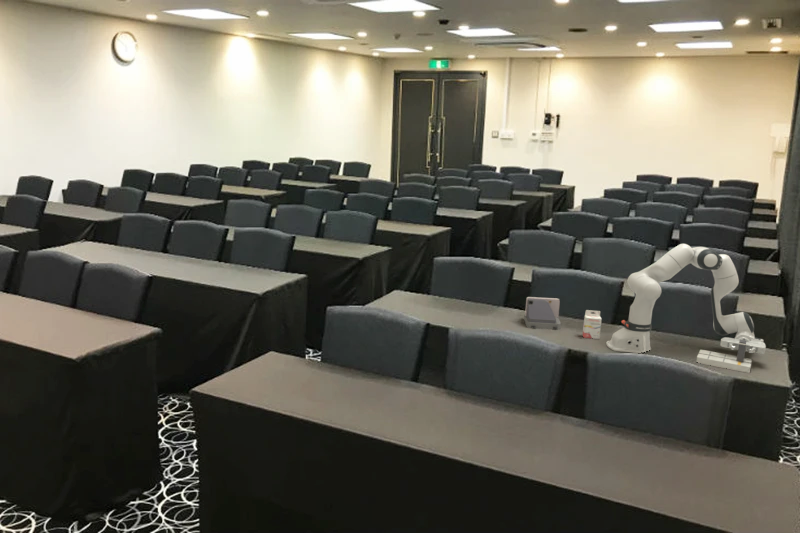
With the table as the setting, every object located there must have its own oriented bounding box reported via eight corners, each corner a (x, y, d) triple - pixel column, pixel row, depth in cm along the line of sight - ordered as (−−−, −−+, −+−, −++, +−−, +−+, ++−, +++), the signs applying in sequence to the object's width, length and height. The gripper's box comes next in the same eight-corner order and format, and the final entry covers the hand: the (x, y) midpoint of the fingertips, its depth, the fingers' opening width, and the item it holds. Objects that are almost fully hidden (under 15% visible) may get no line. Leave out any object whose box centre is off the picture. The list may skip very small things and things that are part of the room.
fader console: (696, 362, 344) (697, 356, 343) (699, 354, 356) (700, 349, 355) (749, 373, 333) (750, 367, 332) (751, 364, 344) (752, 358, 343)
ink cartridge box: (583, 338, 376) (586, 312, 372) (582, 335, 380) (584, 309, 377) (599, 339, 375) (602, 313, 371) (598, 336, 380) (600, 310, 376)
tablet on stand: (560, 321, 405) (562, 296, 402) (560, 331, 386) (562, 306, 382) (523, 317, 410) (525, 293, 407) (522, 327, 390) (524, 302, 387)
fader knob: (735, 364, 339) (739, 341, 337) (736, 362, 343) (739, 339, 340) (742, 366, 338) (746, 343, 335) (743, 363, 342) (746, 340, 339)
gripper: (722, 332, 354) (719, 339, 342) (766, 340, 344) (765, 347, 332) (720, 344, 355) (717, 351, 344) (765, 352, 346) (763, 360, 334)
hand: (741, 349), depth 338 cm, fingers open, 7 cm apart
